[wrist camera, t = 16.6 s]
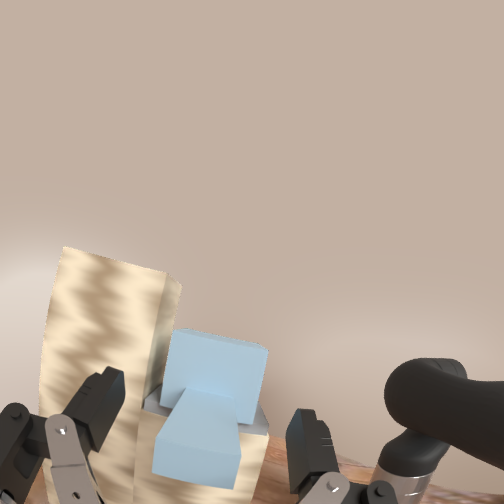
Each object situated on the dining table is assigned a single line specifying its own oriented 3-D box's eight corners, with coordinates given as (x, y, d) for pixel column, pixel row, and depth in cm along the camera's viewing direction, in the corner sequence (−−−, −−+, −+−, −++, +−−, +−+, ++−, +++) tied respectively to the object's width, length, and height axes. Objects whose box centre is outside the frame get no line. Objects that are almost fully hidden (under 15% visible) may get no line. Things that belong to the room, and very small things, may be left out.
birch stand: (219, 554, 18) (279, 306, 28) (219, 588, 11) (298, 301, 20) (79, 513, 17) (98, 264, 27) (58, 538, 10) (64, 245, 20)
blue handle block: (245, 400, 24) (257, 343, 26) (273, 493, 8) (305, 373, 10) (175, 385, 24) (186, 328, 26) (113, 459, 8) (128, 335, 10)
